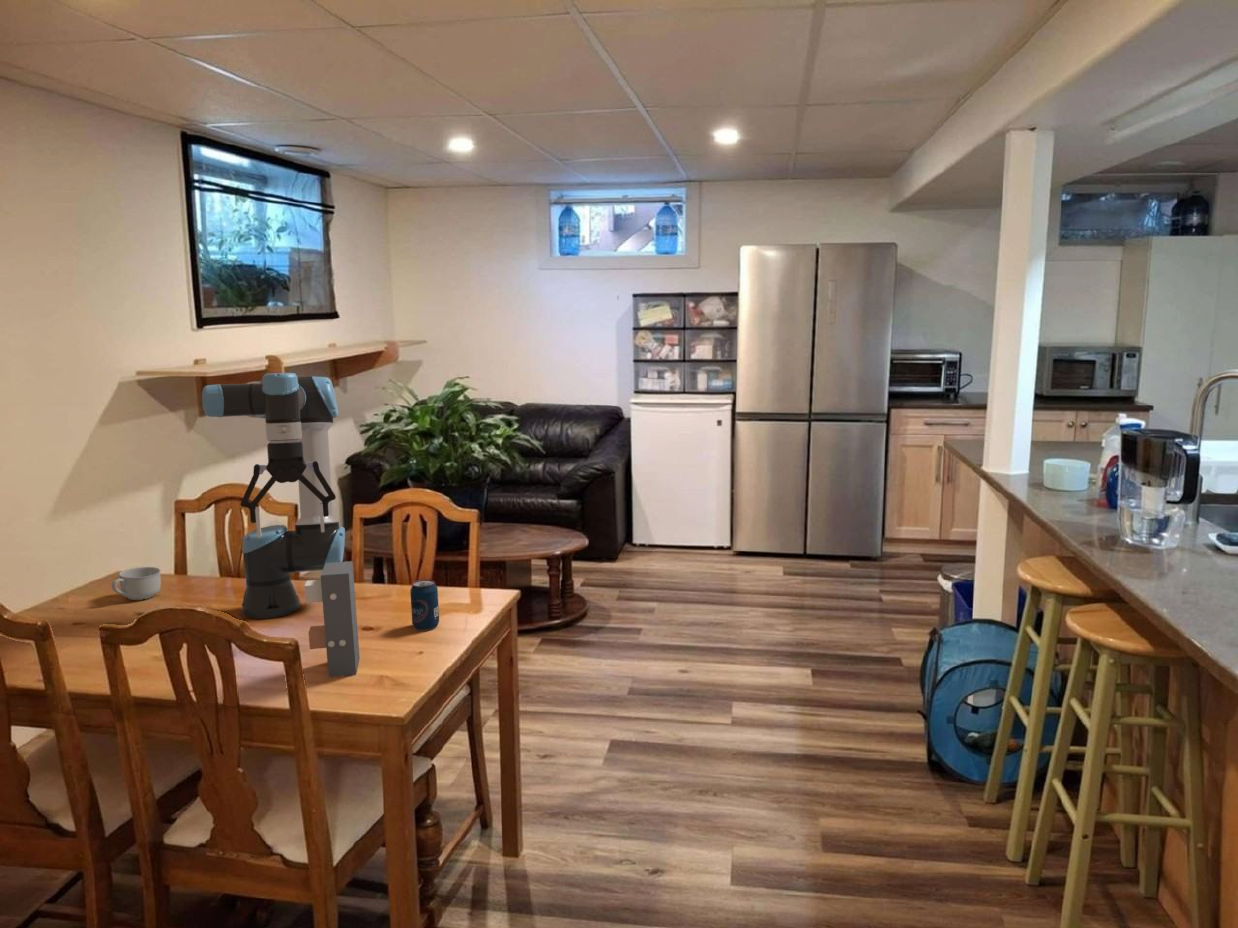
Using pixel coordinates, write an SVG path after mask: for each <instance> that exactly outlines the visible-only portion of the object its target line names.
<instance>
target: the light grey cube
mask: <svg viewBox="0 0 1238 928" xmlns="http://www.w3.org/2000/svg"><path fill="white" fill-rule="evenodd" d="M304 595H305V603H306V604H311V603H321V602H322V603H323V600H322V588H321V579H313V580H310V579H309V580H306V582H305V584H304Z"/></svg>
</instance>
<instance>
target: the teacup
mask: <svg viewBox="0 0 1238 928" xmlns="http://www.w3.org/2000/svg"><path fill="white" fill-rule="evenodd" d="M161 572H162V571H161V569H160V568H159V567H154V566H140V567H139V566H138V567H132V568H127V569H124V570H122V571H120V572H119V573H118V576H119V577H118V578H115V579H114V580H113V581H112V584H111V588H112V591H113V592H115V593H116V594H120V595H122V596H123V597H124V598H127V599H129V600H131V601H143V599H145V600H148V598H149V599H151V597H152V598H154V596H156V594H158V593H159V592H160V591H161V581H162V579H161ZM118 584H119V586H120V587H119V588H120V589H119V588H118V587H117V586H118Z"/></svg>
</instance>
